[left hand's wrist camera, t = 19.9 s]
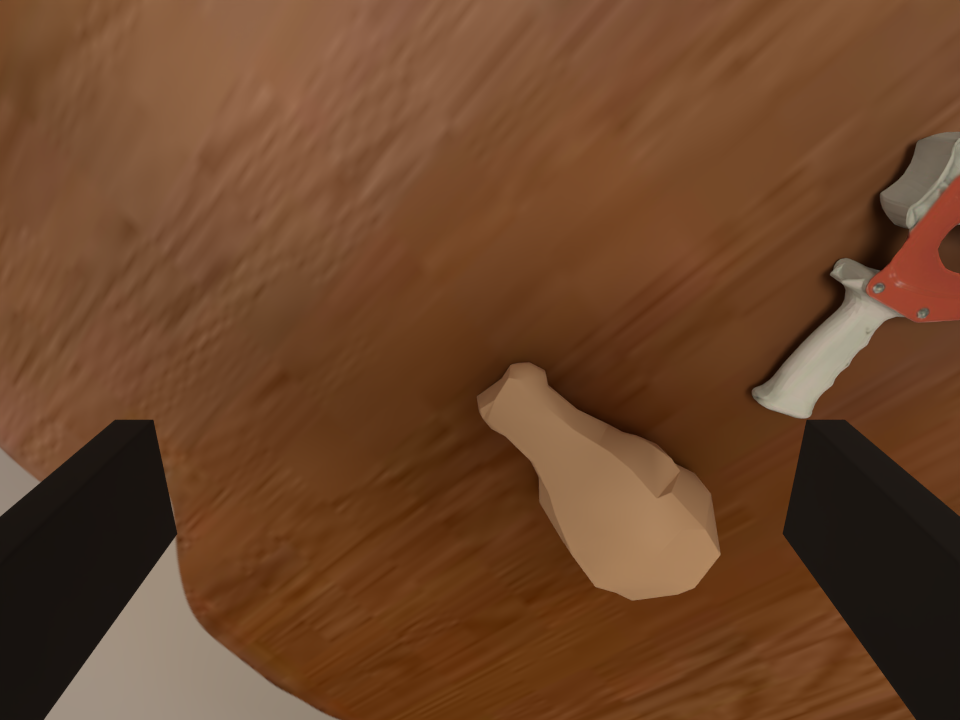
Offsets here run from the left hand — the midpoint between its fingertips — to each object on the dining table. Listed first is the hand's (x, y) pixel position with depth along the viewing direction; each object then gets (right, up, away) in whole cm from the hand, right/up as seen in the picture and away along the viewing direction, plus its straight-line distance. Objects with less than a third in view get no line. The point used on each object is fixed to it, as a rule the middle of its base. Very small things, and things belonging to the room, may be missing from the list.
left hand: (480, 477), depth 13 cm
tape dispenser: (+28, +9, +30) cm, 42 cm away
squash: (+8, -5, +35) cm, 36 cm away
